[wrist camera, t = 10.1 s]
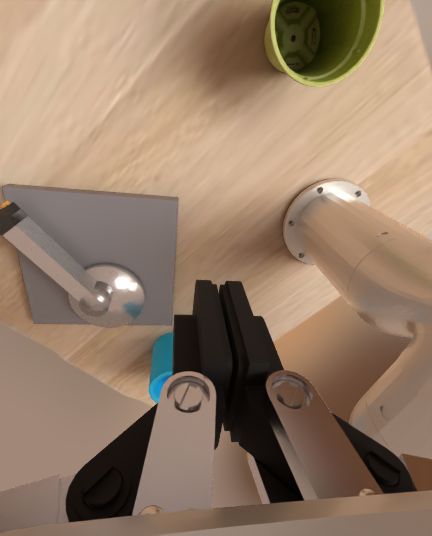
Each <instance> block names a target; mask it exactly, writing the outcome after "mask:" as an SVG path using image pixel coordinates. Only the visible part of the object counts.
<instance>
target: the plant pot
mask: <svg viewBox="0 0 432 536" xmlns="http://www.w3.org/2000/svg"><path fill="white" fill-rule="evenodd" d="M294 7H296V8H298V9H299V12H290V13H286V11H287V9H288V8H294ZM383 10H384V0H273V1H272V5H271V11H270V19H269V21H268V23H267V26H266V30H265V36H264V46H265V51H266V55H267V58H268V59H269V61H270V62H271V64H272V65H273V66H274V67H275V68H276V69H277V70H279V71H281V72H284V73H287V74H288V75H289V76H290V77H291V78H292V79H294V80H295V81H297V82H299V83H301V84H303V85H307V86H312V87H323V86H328V85H332V84H335V83H337V82H339V81H341V80H343V79H344V78H346V77H347V76H349V75H350V74H351V73H352V72H354V71H355V70H356V69H357V68H358V67H359V66H360V64H361V63H362V62H363V61H364V59H365V58H366V57H367V55H368V54H369V52H370V50H371V48H372V46H373V44H374V42H375V40H376V38H377V35H378V33H379V30H380V26H381V23H382V18H383ZM313 28H315V30H316V34H315V35H316V40H315V43H314V44H312V38H313V30H312V29H313ZM293 35H294V36H295V37H296V38H295V41H294V42H292V40H291V37H292V36H293ZM295 63H296V64H297V63H298V65H297V66H296V67H293V68H289V67H288V66H287V64H295Z"/></svg>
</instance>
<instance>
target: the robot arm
mask: <svg viewBox="0 0 432 536" xmlns="http://www.w3.org/2000/svg"><path fill="white" fill-rule="evenodd" d="M318 188H319V189H318ZM317 189H318V190H317ZM289 221H291V222H289ZM283 238H284V241H285V244H286V246H287V248H288V249H289V251H290V252H291V253H292V254H293V256H295V257H296V258H297V259H298V260H300V261H302V262H304V263H307V264H312V265H316V266H317V267H318V268H319V269H320V271H321V272H322V273H323V274H324V275H325V277H326V278H327V279H328V280H329V281H330V282H331V284H332V285H333V286H334V287H335V288H336V290H337V291H338V292H339V293H340V294H341V295H342V297H343V298H344V299H345V300H346V301H347V303H348V304H349V305H350V306H351V307H352V308H353V310H354V311H355V312H356V313H357V314H358V315H359V316H360V317H361V318H362V319H363V320H364V321H365V322H366V323H367V324H369V325H370V326H372V327H373V328H375V329H378V330H379V331H382V332H385V333H388V334H392V335H397V336H403V337H412V338H413V339H412V341H411V343H410V344H409V345H408V346H407V347H406V349H405V350H404V351H403V352H402V353H401V354H400V356H399V358H398V359H397V360H396V361H395V362H394V363H393V365H392V366H391V367H390V368H389V369H388V370H387V371H386V372H385V373H384V374H383V375H382V376H381V377H380V378H379V380H378V381H377V382H376V383H375V384H374V385H373V386H372V387H371V388H370V389H369V390H368V392H367V393H366V394H365V395H364V396H363V397H362V398H361V399H360V401H359V402H358V403H357V405H356V406H355V408H354V410H353V412H352V414H351V417H350V422H349V424H348V423H347V422H345V421H343V420H342V419H340V418H339V417H337V416H336V415H334V414H333V413H331V412H330V410H329V409H328V407H327V405H326V404H325V402H324V401H323V399H322V398H321V396H320V395H319V393H318V392H317V390H316V389H315V387H314V386H313V385H312V383H310V381H309V380H308V379H306V378H305V377H304V376H302V375H300V374H298V373H296V372H292V371H288V370H284V369H283V366H282V364H281V361H280V359H279V356H278V354H277V351H276V349H275V346H274V344H273V341H272V338H271V336H270V333H269V331H268V328H267V326H266V323H265V321H264V319H263V317H261V316H253V313H252V310H251V308H250V305H249V302H248V299H247V296H246V293H245V291H244V288H243V285H242V283H241V282H240V281H226V282H225V285H220V288H219V293H218V288H217V285H216V284H212V282H211V280H196V283H195V293H194V304H193V315H174V330H173V359H172V376H171V377H170V378H169V379H168V380H167V381H166V382H165V383H164V385H163V387H162V390H161V394H160V398H159V402H158V403H157V404H156V405H155V406H154V407H152V408H151V409H150V410H149V411H148V412H147V413H145V414H144V415H143V416H142V417H141V418H140V419H138V420H137V421H136V422H135V423H134V424H132V425H131V426H130V427H129V428H128V429H127V430H126V431H124V432H123V433H122V434H121V435H119V436H118V437H117V438H116V439H115V440H114V441H112V442H111V443H110V444H109V445H108V446H107V447H105V448H104V449H103V450H102V451H101V452H100V453H98V454H97V455H96V456H95V457H94V458H92V459H91V460H90V461H89V462H88V463H87V464H85V465H84V467H82V469H81V470H80V471H79V472H78V473H77V474H74V475H71V476H67V477H64V478H60V475H56V476H52V477H49V478H46V479H42V480H39V481H35V482H32V483H29V484H25V485H22V486H18V487H15V488H12V489H8V490H5V491H1V492H0V536H432V240H431V239H428V238H426V237H424V236H423V235H421V234H419V233H417V232H415V231H414V230H412V229H410V228H408V227H406V226H404V225H403V224H401V223H399V222H397V221H395V220H393V219H392V218H390V217H388V216H386V215H384V214H383V213H381V212H379V211H377V210H375V209H373V208H372V206H371V202H370V199H369V197H368V195H367V194H366V192H365V191H364V190H363V189H362V188H361V187H359V186H358V185H356V184H355V183H353V182H350V181H347V180H344V179H327V180H323V181H320V182H317V183H315V184H313V185H311V186H309V187H308V188H307V189H305V190H304V191H303V192H301V193H300V194H299V195H298V196H297V197H296V198H295V200H294V201H293V202H292V204H291V205H290V207H289V209H288V211H287V213H286V215H285V219H284V222H283ZM222 423H223V426H224V430H225V431H230V435H231V442H239V445H240V446H241V447H242V448H243V449H245V450H246V451H247V458H248V463H249V466H250V468H251V471H252V474H253V477H254V480H255V483H256V486H257V489H258V492H259V495H260V498H261V501H262V504H259V505H247V506H236V507H224V508H213V509H212V495H213V468H214V467H213V466H214V450H215V449H216V448H217V446H218V443H219V438H220V433H221V428H222Z"/></svg>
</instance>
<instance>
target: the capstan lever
mask: <svg viewBox="0 0 432 536" xmlns="http://www.w3.org/2000/svg"><path fill="white" fill-rule="evenodd" d="M0 235H1V236H4V237H5V238H6V239H7V240H8V241H9V242H10V243H12V244H13V245H14V246H15V247H16V248H17V249H19V250H20V251H21V252H22V253H23V254H24V255H26V256H27V257H28V258H29V259H30V260H31V261H33V262H34V263H35V264H36V265H37V266H38V267H39V268H41V269H42V270H43V271H44V272H45V273H46V274H48V275H49V276H50V277H51V278H52V279H53V280H55V281H56V282H57V283H58V284H59V285H60V286H62V287H63V288H64V289H65V290H66V291H67V292H68V293H69V294H68V296H69V302H70V305H71V307H72V308H73V310H74V311H75V313H76V314H77V315H78V316H79V317H81V318H82V319H83V320H85V321H87V322H89V323H91V324H93V325H96V326H101V327H119V326H123V325H126V324H128V323H130V322H132V321H133V320H135V319H136V318H137V317H138V316H139V314H140V313H141V311H142V309H143V306H144V300H145V289H144V286H143V283H142V282H141V280H140V278H139V277H138V276H137V275H136V274H135V273H134V272H132V271H131V270H130V269H128V268H126V267H124V266H122V265H119V264H115V263H107V262H105V263H96V264H92V265H89V266H87V267H85V268H83V267H82V266H81V265H79V264H78V263H77V262H76V261H75V260H74V259H73V258H72V257H71V256H70V255H69V254H68V253H67V252H66V251H65V250H64V249H62V248H61V247H60V246H59V245H58V244H57V243H56V242H55V241H54V240H53V239H52V238H51V237H50V236H49V235H48V234H47V233H45V232H44V231H43V230H42V229H41V228H40V227H39V226H38V225H37V224H36V223H35V222H34V221H33V220H32V219H31V218H30V217H28V215H27V214H26V213H25V212H24V211H23V210H22V209H21V208H20V207H19V206H18V205H16V204H15V203H14V202H12V203H11V204H9V205H7V206H6V207H4V208H2V209H1V210H0Z"/></svg>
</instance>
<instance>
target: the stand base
mask: <svg viewBox="0 0 432 536" xmlns="http://www.w3.org/2000/svg"><path fill="white" fill-rule="evenodd" d="M2 189H3V193H4V198H5V202H4V203H3V204H2V205H1V206H0V207H2V208H4V207H6V206H7V205H9V204H11V203H12V202H14V203H15V204H16V205H18V206H19V207H20V208H21V209H22V210H23V211H24V212H25V213H26V214H27V215H28V217H30V218H31V219H32V220H33V221H34V222H35V223H36V224H37V225H38V226H39V227H40V228H41V229H42V230H43V231H44V232H45V233H47V234H48V235H49V236H50V237H51V238H52V239H53V240H54V241H55V242H56V243H57V244H58V245H59V246H60V247H61V248H62V249H64V250H65V251H66V252H67V253H68V254H69V255H70V256H71V257H72V258H73V259H74V260H75V261H76V262H77V263H78V264H79V265H81V266H82V267H83V268H85V267H87V266H89V265H92V264H96V263H105V262H107V263H115V264H119V265H122V266H124V267H126V268H128V269H130V270H131V271H132V272H134V273H135V274H136V275H137V276H138V277H139V278H140V280H141V282H142V283H143V286H144V289H145V300H144V306H143V309H142V311H141V313H140V314H139V316H138V317H137V318H136V319H135V320H133V321H132V322H130V323H128V324H126V325H172V311H173V292H174V273H175V254H176V235H177V217H178V197H167V196H154V195H142V194H129V193H116V192H104V191H91V190H79V189H66V188H54V187H41V186H28V185H16V184H7V185H5V186H3V187H2ZM16 249H17V248H16ZM17 253H18V257H19V262H20V266H21V270H22V275H23V279H24V283H25V287H26V292H27V296H28V300H29V305H30V309H31V313H32V317H33V322H34V324H91V323H89V322H87V321H85V320H83V319H82V318H81V317H79V316H78V315H77V314H76V313H75V311H74V310H73V308H72V307H71V305H70V302H69V296H68V294H69V293H68V292H67V291H66V290H65V289H64V288H63V287H62V286H60V285H59V284H58V283H57V282H56V281H55V280H53V279H52V278H51V277H50V276H49V275H48V274H46V273H45V272H44V271H43V270H42V269H41V268H39V267H38V266H37V265H36V264H35V263H34V262H33V261H31V260H30V259H29V258H28V257H27V256H26V255H24V254H23V253H22V252H21V251H20V250H19V249H17Z"/></svg>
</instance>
